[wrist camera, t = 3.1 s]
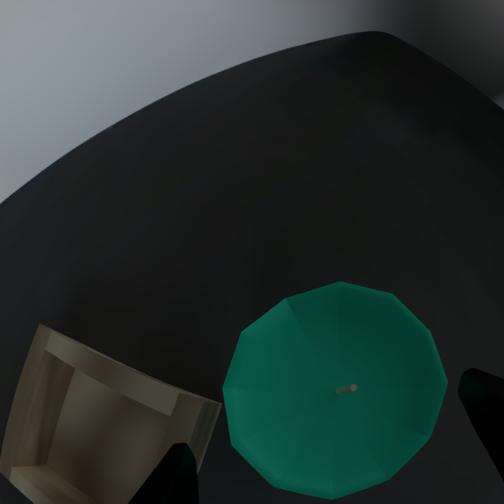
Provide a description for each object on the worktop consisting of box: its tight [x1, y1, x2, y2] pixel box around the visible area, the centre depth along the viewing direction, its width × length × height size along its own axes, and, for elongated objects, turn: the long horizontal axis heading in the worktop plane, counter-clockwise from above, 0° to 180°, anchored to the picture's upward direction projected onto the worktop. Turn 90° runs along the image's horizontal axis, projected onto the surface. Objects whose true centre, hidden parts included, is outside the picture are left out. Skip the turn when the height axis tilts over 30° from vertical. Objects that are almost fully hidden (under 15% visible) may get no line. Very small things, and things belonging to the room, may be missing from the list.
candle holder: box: [0, 323, 222, 504], centre depth 14 cm, size 11×11×4 cm
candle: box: [223, 281, 448, 500], centre depth 11 cm, size 6×6×12 cm
